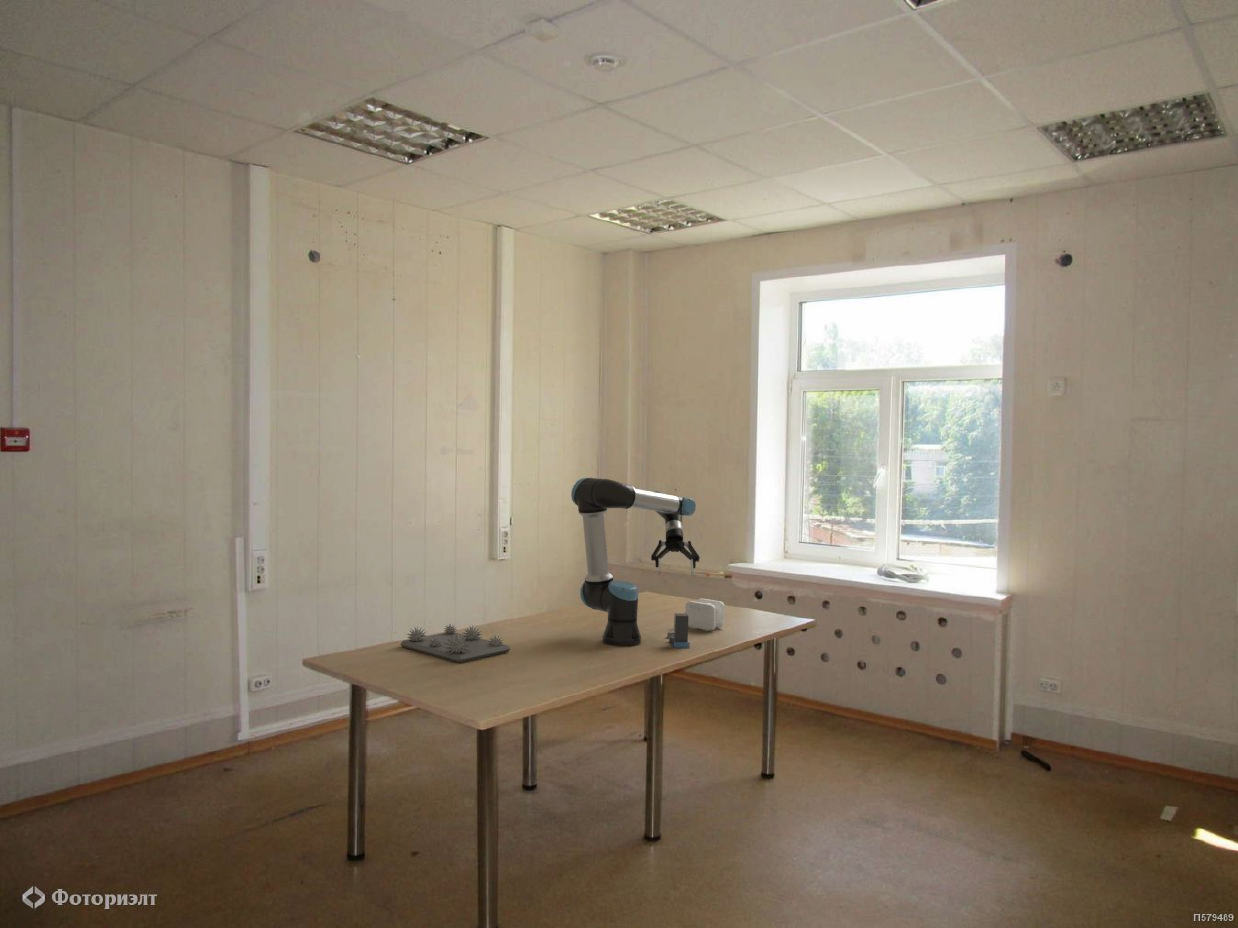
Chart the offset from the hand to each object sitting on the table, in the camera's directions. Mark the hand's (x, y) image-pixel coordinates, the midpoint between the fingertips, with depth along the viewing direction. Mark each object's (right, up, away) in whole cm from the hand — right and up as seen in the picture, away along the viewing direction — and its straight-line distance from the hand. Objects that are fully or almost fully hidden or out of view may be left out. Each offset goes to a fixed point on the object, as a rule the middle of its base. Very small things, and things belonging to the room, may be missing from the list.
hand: (675, 573), depth 342 cm
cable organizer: (+14, -26, +16) cm, 33 cm away
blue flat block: (+1, -26, -18) cm, 31 cm away
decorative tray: (-85, -24, -36) cm, 95 cm away
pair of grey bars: (-1, -26, -9) cm, 27 cm away
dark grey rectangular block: (+1, -26, -18) cm, 31 cm away
